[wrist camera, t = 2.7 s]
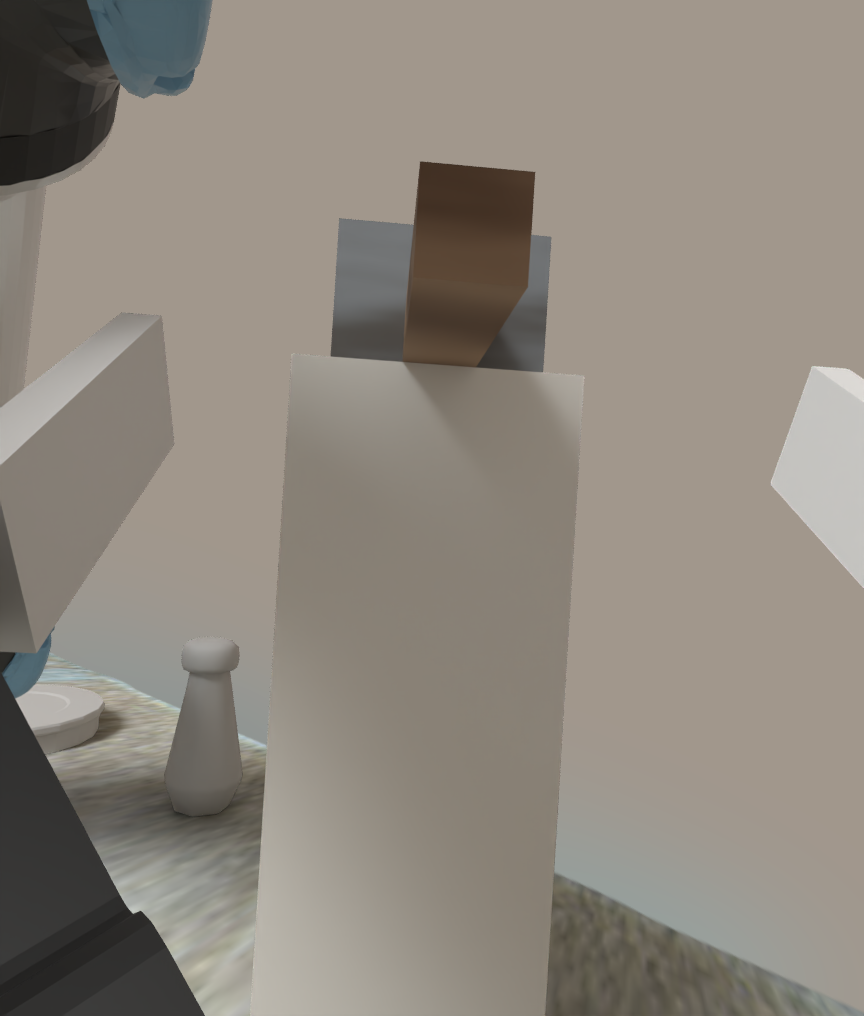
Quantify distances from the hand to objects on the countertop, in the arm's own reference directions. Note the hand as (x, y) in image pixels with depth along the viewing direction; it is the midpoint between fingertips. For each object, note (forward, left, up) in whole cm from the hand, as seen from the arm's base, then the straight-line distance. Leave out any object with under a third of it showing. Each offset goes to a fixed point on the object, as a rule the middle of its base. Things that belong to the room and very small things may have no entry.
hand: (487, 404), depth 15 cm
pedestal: (-14, +17, -26) cm, 34 cm away
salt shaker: (-39, +24, -26) cm, 53 cm away
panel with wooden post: (-8, +10, +4) cm, 14 cm away
